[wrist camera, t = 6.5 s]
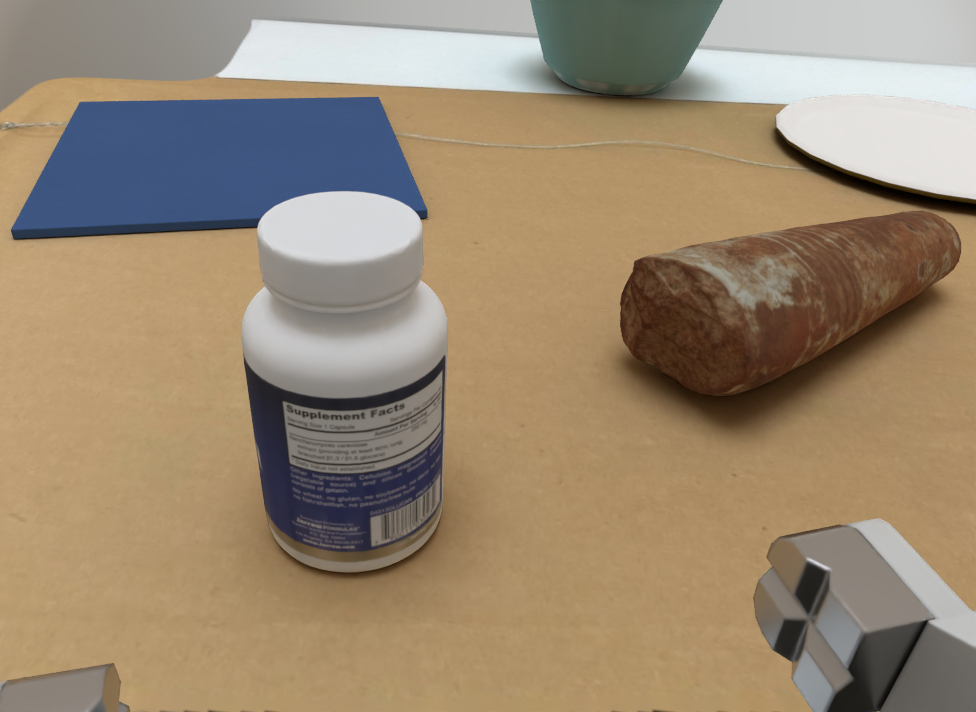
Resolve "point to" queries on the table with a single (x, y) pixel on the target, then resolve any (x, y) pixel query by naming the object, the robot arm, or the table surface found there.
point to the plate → (888, 141)
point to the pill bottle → (347, 380)
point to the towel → (210, 164)
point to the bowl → (621, 41)
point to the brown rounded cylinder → (777, 296)
